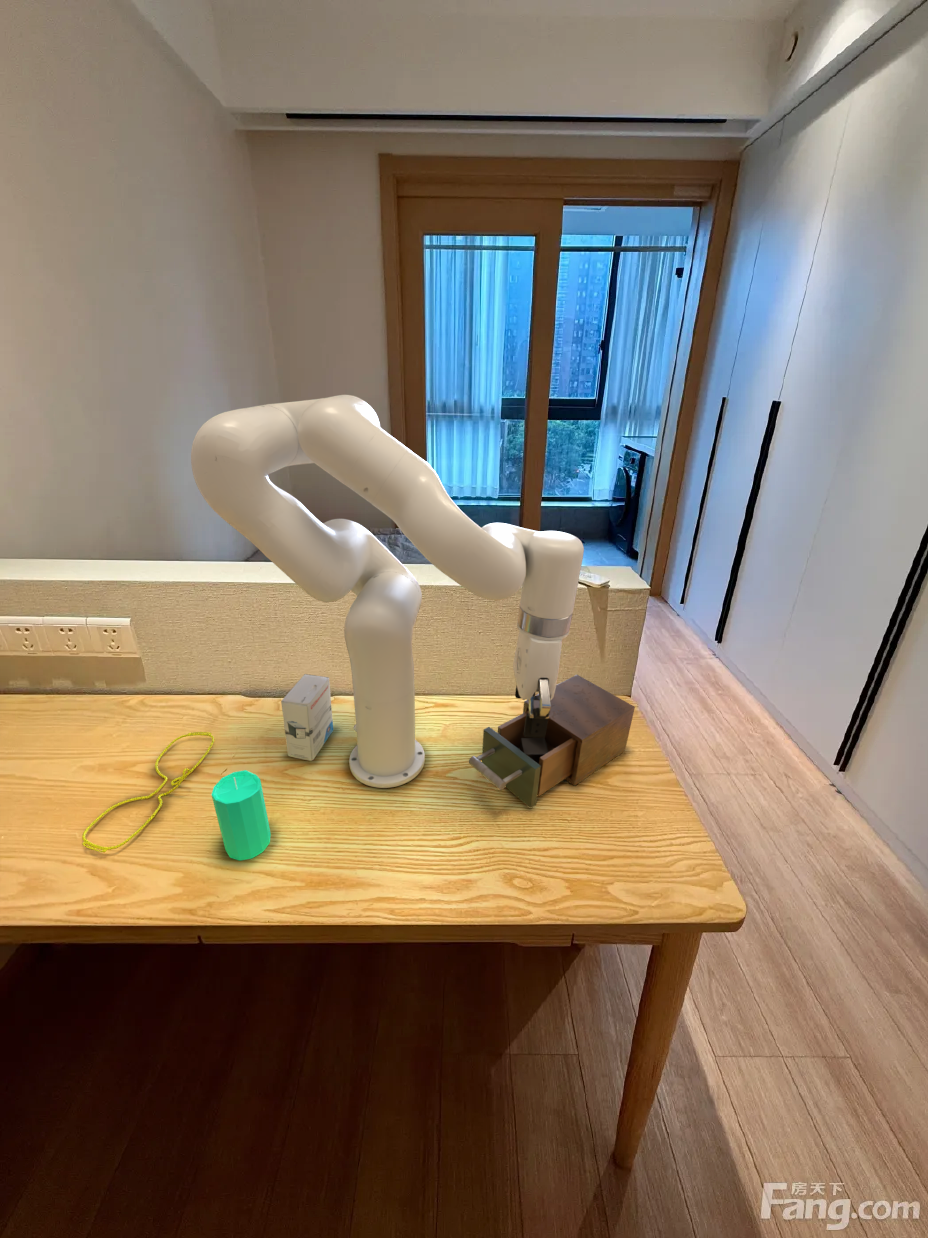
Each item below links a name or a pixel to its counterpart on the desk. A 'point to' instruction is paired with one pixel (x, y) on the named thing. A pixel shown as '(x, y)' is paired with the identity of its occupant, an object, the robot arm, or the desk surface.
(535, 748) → the block
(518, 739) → the drawer
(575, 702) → the cabinet
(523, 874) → the desk surface
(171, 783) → the yellow rope loop
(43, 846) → the desk surface
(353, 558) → the robot arm
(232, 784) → the candle
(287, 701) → the ink box
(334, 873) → the desk surface
